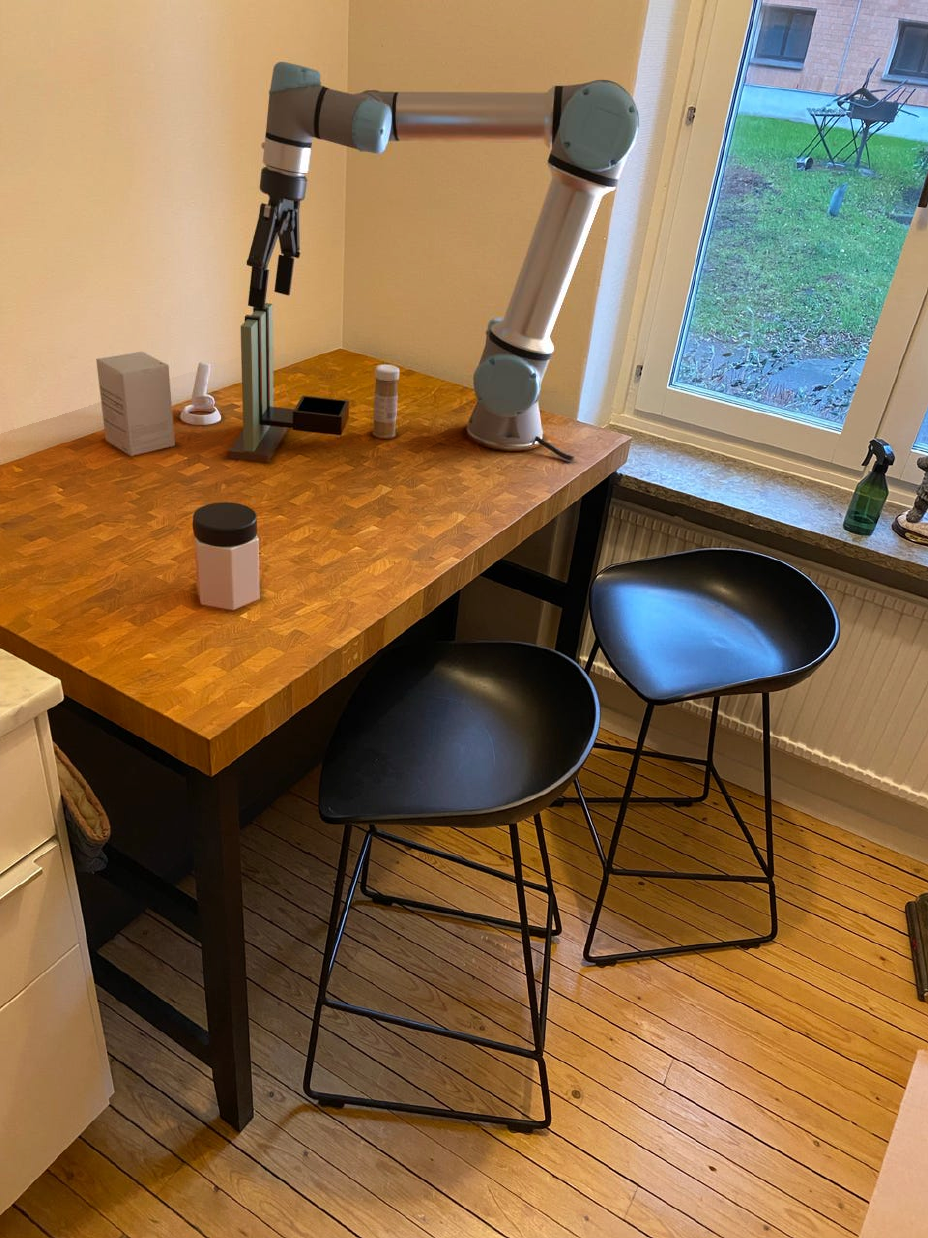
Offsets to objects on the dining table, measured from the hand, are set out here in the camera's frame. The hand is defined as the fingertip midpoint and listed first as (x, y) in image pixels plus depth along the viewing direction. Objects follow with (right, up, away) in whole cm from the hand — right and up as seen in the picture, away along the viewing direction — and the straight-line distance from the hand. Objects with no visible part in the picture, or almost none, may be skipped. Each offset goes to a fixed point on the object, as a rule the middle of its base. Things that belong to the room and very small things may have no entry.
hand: (269, 300), depth 165 cm
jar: (+2, -53, -37) cm, 65 cm away
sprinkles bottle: (+19, -21, +18) cm, 33 cm away
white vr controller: (-17, -18, +16) cm, 29 cm away
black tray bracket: (+4, -20, +5) cm, 21 cm away
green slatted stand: (-3, -24, +8) cm, 25 cm away
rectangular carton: (-24, -25, +2) cm, 35 cm away
